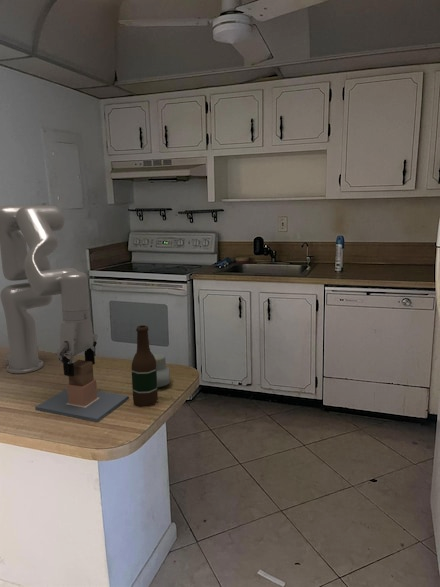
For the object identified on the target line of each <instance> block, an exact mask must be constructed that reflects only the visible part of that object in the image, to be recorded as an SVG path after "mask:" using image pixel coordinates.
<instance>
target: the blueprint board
mask: <svg viewBox="0 0 440 587" xmlns="http://www.w3.org/2000/svg"><path fill="white" fill-rule="evenodd" d="M129 397H130V396H129V395H126V394H121V393H113V392H109V391H104V390H103V391H102V390H97V399H95V400H94V401H92V402H91V403H89V404H88V405H86V406H80V405H74V404H69V403H68V392H67V388H65V389H63V390H62V391H60V392H58V393H57V394H55V395H53V396H50V398H47V399H46V400H44V401H43V402H41V403H39V404H37V405H36V406H35V407H34V409H35V411H40V412H43V413H49V414H54V415H59V416H65V417H69V418H74V419H79V420H85V421H89V422H94V423H99V422H100V421H101V420H103V419H104V418H106V417H107V416H108V415H110V413H112V412H113V411H116V409H117V408H118V407H120V406H122V405H123V404H124V403H125V402H127V401H128V400H129V399H130V398H129Z"/></svg>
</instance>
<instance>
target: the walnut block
mask: <svg viewBox="0 0 440 587" xmlns="http://www.w3.org/2000/svg"><path fill="white" fill-rule="evenodd" d="M72 363H73V365H74V376H68V384H70V385H76V386H81V387H84V386H85V385H87V384H89V383H90V382H92V381H94V380H95V379H94V367H93V366H94V365H93V364H92V362H90V361H85V359H84V360H81V359H78V360H76V361H72Z"/></svg>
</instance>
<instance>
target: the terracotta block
mask: <svg viewBox="0 0 440 587" xmlns="http://www.w3.org/2000/svg"><path fill="white" fill-rule="evenodd" d="M66 389H67V392H68V403H69V404H74V405H80V406H86V405H88V404H89V403H91V402H92V401H94V400H95V399H97V391H98V387H97V380H96V379H94V381H92V382H90V383H89V384H87V385H85V386H84V387H81V386H76V385H70V384H69V383H68V384H66Z"/></svg>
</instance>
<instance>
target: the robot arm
mask: <svg viewBox="0 0 440 587" xmlns="http://www.w3.org/2000/svg"><path fill="white" fill-rule="evenodd" d="M64 226H65V217H64V214H63V212H62V210H61V209H60V208H59V207H57V206H55V205H44V204H34V205H33V204H32V205H31V204H28V205H27V204H25V205H24V204H21V205H20V204H15V205H13V204H11V205H10V204H9V205H1V206H0V257H1V258H0V260H1V268H2V272H3V273H2V274H3V277H4V278H5V279H6V280H8V281H11V282H13V281H14V282H15V281H16V282H17V281H24V280H25V281H26V280H27V282H23V283H14V284H9V285H7V286H5V287H3V288H2V289H1V291H0V302H1V305H2V308H3V312H4V317H5V323H6V331H7V341H8V349H9V350H8V351H9V353H7V354H6V356H5V357H4V358H3V359H4V361H6V362H8V364H7V366H6V371H7V372H8V373H11V374H26V373H32V372H35V371H37V370H40V369H41V368H43V367H44V361H43V360H42V359H39V352H38V350H39V349H38V342H37V341H38V340H37V330H36V321H35V318H34V317H33V316H32V315H31V314H30V313H29V312H28V311H27V310H30V309H35V308H41V307H45V306H49V305H50V304H51V303H52V300H53V296H56V295H60V297H61V309H62V310H61V311H62V321H61V323H60V329H59V330H60V331H59V333H60V334H59V345H60V346H59V349H58V350H57V351H56V352H55V354H56V355H57V357H58V360H59V361H60V363H61V364H63V365H62V366H63V375H64V376H66V377H67V376H68V377H69V376H74V365H73V360H74V357H75V356H77V355H79V354H81V353H83V352H84V361H90V362H92V364H93V366H94V365H95V364H96V361H95V360H96V359H95V352H96V346H97V345H98V344H97V341H98V337H99V336H98V334H95V333H94V329H93V323H92V320H91V315H90V314H91V312H90V296H89V284H88V283H89V282H88V280H89V279H88V276H87V274H86V273H85V272H83V271H79V270H77V269H76V268H73V267H65V268H57V269H56V268H55V269H52V268H51V264H50V259H49V258H48V256H49V255H50V254H52V253H54V252H55V250H56V249H57V247H58V246H59V244H58V243H59V242H58V239H57V237H56V235H55V233H54V232H58V231H61V230H62V229H63V228H64ZM27 246H28V248H27ZM28 249H29V250H28ZM68 356H69V357H68Z"/></svg>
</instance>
